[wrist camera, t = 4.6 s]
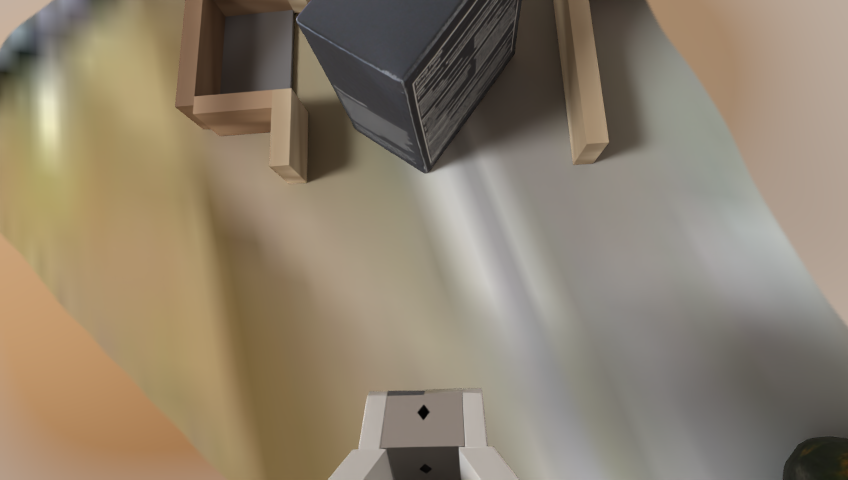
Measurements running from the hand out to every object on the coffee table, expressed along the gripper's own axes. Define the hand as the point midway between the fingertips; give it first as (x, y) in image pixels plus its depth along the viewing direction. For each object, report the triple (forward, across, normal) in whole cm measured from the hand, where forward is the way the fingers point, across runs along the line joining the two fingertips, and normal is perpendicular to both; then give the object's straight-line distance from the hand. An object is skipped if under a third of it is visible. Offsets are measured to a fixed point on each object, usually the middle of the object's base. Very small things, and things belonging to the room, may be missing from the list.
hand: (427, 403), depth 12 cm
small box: (+22, 0, -3) cm, 23 cm away
